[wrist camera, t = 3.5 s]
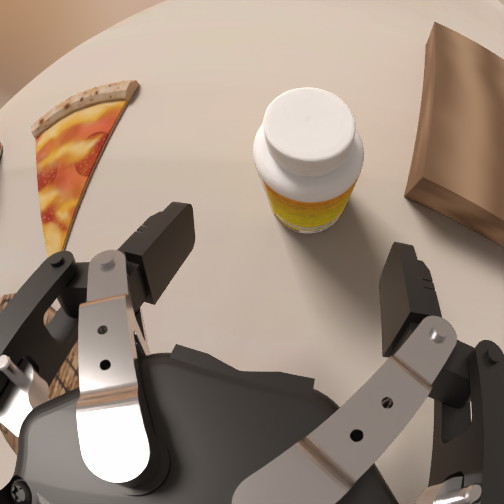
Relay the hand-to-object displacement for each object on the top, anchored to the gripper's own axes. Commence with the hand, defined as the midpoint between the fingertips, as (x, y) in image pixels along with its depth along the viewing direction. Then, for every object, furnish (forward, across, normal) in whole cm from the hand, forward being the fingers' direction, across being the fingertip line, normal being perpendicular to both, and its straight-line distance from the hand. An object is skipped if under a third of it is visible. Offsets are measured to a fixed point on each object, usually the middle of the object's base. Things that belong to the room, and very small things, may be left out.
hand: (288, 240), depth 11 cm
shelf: (+18, -16, -4) cm, 24 cm away
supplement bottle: (+10, 0, +3) cm, 11 cm away
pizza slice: (+12, +28, +3) cm, 31 cm away
